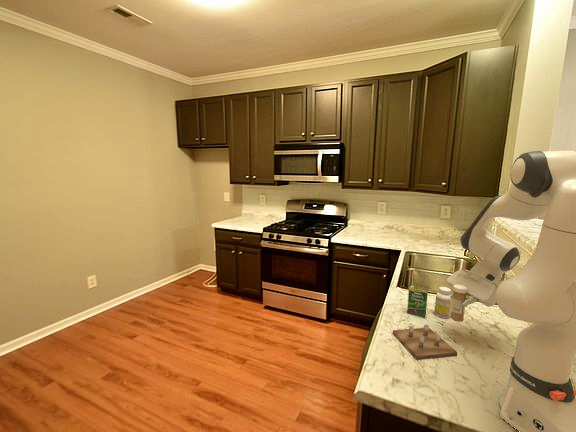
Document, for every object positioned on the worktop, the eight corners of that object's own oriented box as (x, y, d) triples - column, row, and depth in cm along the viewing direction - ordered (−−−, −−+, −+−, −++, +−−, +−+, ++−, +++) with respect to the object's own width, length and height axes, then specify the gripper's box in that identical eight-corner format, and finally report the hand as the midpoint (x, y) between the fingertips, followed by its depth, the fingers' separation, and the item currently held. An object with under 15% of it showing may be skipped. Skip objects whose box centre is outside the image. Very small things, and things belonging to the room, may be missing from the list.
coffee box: (406, 313, 130) (408, 286, 128) (407, 310, 133) (409, 284, 131) (425, 318, 126) (428, 291, 124) (425, 315, 129) (428, 288, 126)
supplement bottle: (440, 310, 134) (443, 284, 132) (453, 316, 128) (457, 290, 126) (430, 313, 131) (433, 287, 129) (444, 319, 125) (447, 293, 123)
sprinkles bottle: (466, 320, 108) (470, 287, 106) (458, 323, 106) (462, 289, 104) (454, 315, 112) (458, 283, 110) (447, 317, 110) (450, 285, 108)
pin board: (456, 355, 101) (458, 341, 100) (416, 359, 98) (418, 345, 97) (428, 330, 116) (429, 318, 115) (392, 333, 114) (393, 321, 113)
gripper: (457, 262, 117) (434, 286, 117) (501, 281, 97) (473, 309, 97) (465, 272, 118) (442, 295, 118) (511, 292, 98) (483, 320, 98)
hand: (457, 301), depth 107 cm, fingers closed on sprinkles bottle, 4 cm apart
